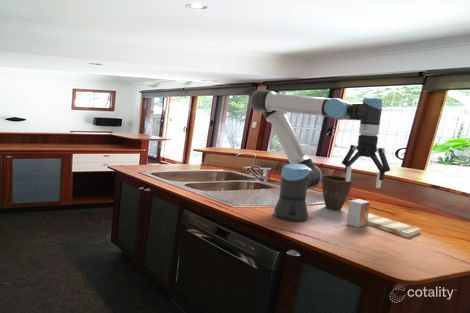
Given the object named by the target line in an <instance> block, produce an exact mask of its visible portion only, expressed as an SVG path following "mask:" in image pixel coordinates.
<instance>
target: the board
mask: <svg viewBox="0 0 470 313" xmlns="http://www.w3.org/2000/svg"><path fill="white" fill-rule="evenodd" d="M367 225H368V226H370V227H374V228H377V229H379V230H383V231H386V232H389V233H391V234H396V235H398V236H401V237H404V238H407V239H409V238H411V237H413V236H415V235H418V234H420V232H421V228H420V227H417V226H414V225H411V224H410V225H409V224H406V223H403V222H399V221H398V220H397V221H396V220H393V219H389V218H386V217H383V216H379V215H376V214H373V213H368V220H367ZM367 225H366V226H367Z"/></svg>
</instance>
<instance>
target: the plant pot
mask: <svg viewBox="0 0 470 313" xmlns="http://www.w3.org/2000/svg"><path fill="white" fill-rule="evenodd" d="M345 180H346V176H345V177H344V176H338V175H327V174H326V175H322V179H321V189H322V195H323V201H324V205H325V208H326V209H328V210H331V211H341V210H342V208H343V206H344V204H345V203H346V200H347V198H348V196H349V193H350V191H351V188H352V184H353V182H354V181H353V179H350V181H345Z"/></svg>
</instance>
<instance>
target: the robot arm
mask: <svg viewBox="0 0 470 313" xmlns="http://www.w3.org/2000/svg"><path fill="white" fill-rule="evenodd" d="M249 102H250V103H249V104H250V107H251V108H252V110H254V111H255V112H257V113H260V114H263V116H264V119H265V120H266V122H268V123H270V124H271V126H272V128H273V130H274V132H275V135H276V137H277V138H278V141H279V143H280V145H281V147H282V149H283V151H284V154H285V156H286V158H287V160H288V162H289V163H288V164H285V165H283V166H282V168H281V173H280V175H281V176H280V186H279V197H278V200H277V202H276V206H274V209H273V215H274V217H276V218H278V219H281V220H284V221H288V222H305V221H307V220H309V212H308V208H307V203H306V201H307V200H306V199H307V198H306V197H307V192H308V191H309V190H312V189H315V188H316V187H317V186H319V185H320V183H322V176H323V175H322V171H321V169H320V168H319V167H318V166H317V165H315V164H314V162H313V160H312V157H308V156H307V155H306V153H305V151H304V149H303V147H302V145H301V143H300V141H299V139H298V136H297V135H296V133H295V131H294V129H293V127H292V124H291V123H290V121H289V119H288V115H287V113H294V114H302V115H308V116H309V115H310V116H311V115H312V116H320V117H326V118H333V119H334V120H340V121H343V120H344V121H346V120H347V121H360V123H359V128H358V129H359V131H358V134H359V135H358V138H357V139H358V140H357V145H355V144H351V145H350V146H349V150H348V152H346V155H345V157H344V158H343V160H342V161H341V165H344V166H345V168H344V174H345V178H346V180H345V181H350V179H351V178H352V170H353V167H352V165H353V164H354V163H355V162H356V161H357V160H358V159H359V158H360V157H362V158H363V157H365V158H370V159H371V160H372V162H373V163H374V165H375V166H376V167H377V169H378V170H379V171H377V172H376V173H377V174H376V182H375V188H376V189H379V188H382V187H381V186H382V181H384V179H385V174H386V173H387V172H390V171H391V168H390V166H389V163H388V160H387V157H386V154H385V151H386V150H385V148H384V147H377V146H378V141H379V140H378V139H379V137H378V135H380V134H379V133H380V125H381V117H382V116H381V115H382V110H383V109H382V106H383V100H382V98H380V97H373V96H369V97H363V99H362V102H349V101H346V100H344V99H342V98H338V97H333V98H329V97H328V98H327V97H320V96H319V97H317V96H309V95H308V96H307V95H306V96H305V95H294V94H283V93H282V94H281V93H279V92H276V91H272V90H268V89H265V88H263V89H261V88H260V89H257V90H255V91H254V92H253V93H251V96H250V99H249ZM356 150H357V152H355V151H356ZM376 153H378V155H377V154H376ZM378 156H379V158H378ZM379 159H380V160H379ZM351 180H352V179H351Z"/></svg>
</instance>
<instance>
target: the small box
mask: <svg viewBox="0 0 470 313" xmlns="http://www.w3.org/2000/svg"><path fill="white" fill-rule="evenodd" d="M370 206H371V201H368V200H364V199H360V198H357V199H352V200H349V201H348V208H347V216H346V225H350V226H352V227H356V228H360V227H363V226H367V220H368V214H369V211H370Z"/></svg>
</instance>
